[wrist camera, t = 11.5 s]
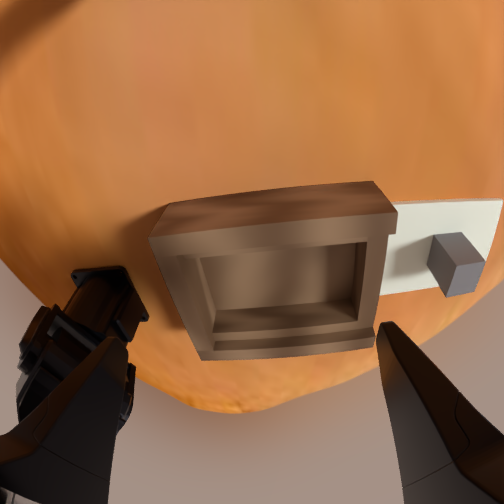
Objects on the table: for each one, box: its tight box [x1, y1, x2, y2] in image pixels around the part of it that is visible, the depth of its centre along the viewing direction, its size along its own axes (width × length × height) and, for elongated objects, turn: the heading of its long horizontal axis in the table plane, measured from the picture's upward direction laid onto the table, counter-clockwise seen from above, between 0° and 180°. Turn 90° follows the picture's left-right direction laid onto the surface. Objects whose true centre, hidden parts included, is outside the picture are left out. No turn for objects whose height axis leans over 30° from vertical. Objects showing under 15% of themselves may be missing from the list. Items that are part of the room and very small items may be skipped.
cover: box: [380, 198, 503, 297], centre depth 19 cm, size 12×9×5 cm
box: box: [148, 181, 398, 361], centre depth 20 cm, size 14×12×4 cm
